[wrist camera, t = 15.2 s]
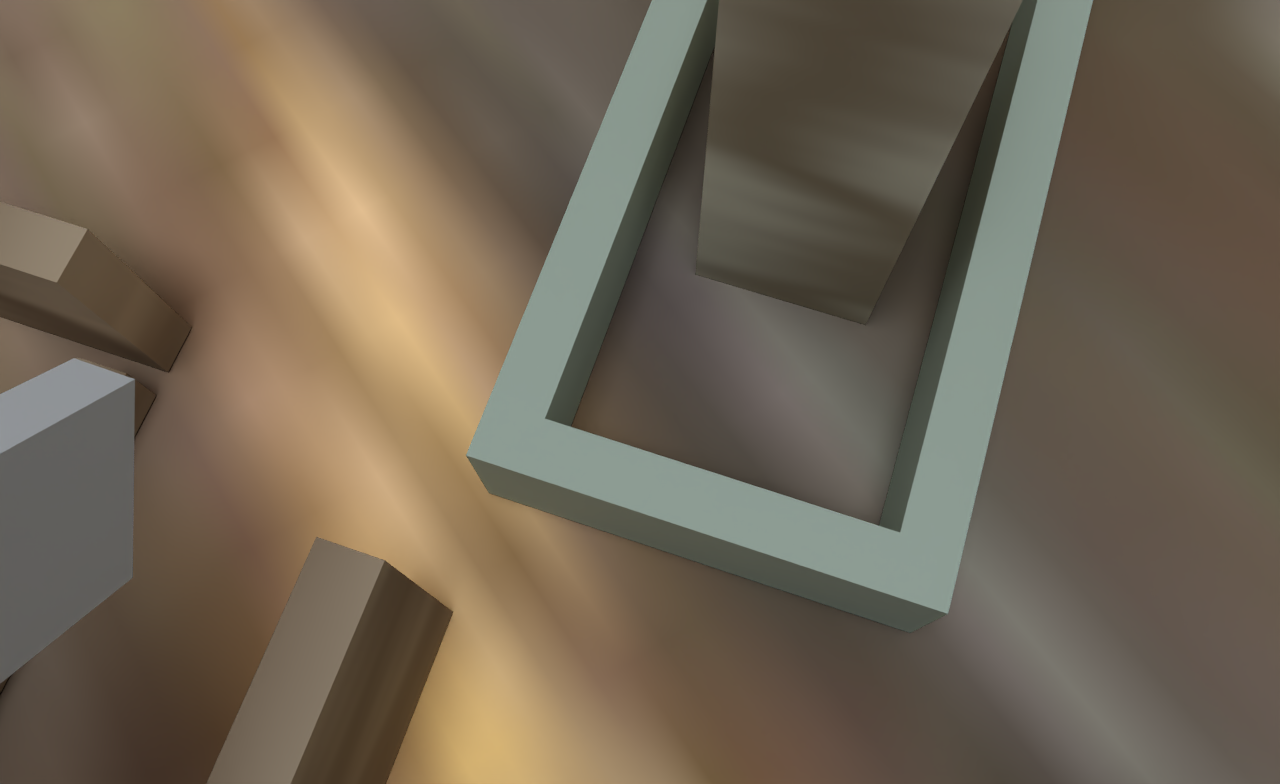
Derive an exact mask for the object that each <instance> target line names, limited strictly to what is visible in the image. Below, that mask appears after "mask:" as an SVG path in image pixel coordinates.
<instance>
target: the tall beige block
mask: <svg viewBox="0 0 1280 784" xmlns="http://www.w3.org/2000/svg"><path fill="white" fill-rule="evenodd" d="M1022 1H1023V0H719V6H718V18H717V29H716V41H715V53H714V64H713V76H712V88H711V99H710V111H709V123H708V134H707V146H706V158H705V169H704V181H703V193H702V204H701V216H700V228H699V239H698V251H697V263H696V275H699V276H702V277H706V278H709V279H713V280H716V281H719V282H723V283H726V284H729V285H733V286H736V287H739V288H743V289H746V290H750V291H753V292H756V293H760V294H763V295H766V296H770V297H773V298H776V299H780V300H783V301H786V302H790V303H793V304H797V305H800V306H803V307H807V308H810V309H813V310H817V311H820V312H823V313H827V314H830V315H834V316H837V317H840V318H844V319H847V320H850V321H854V322H857V323H860V324H864V325H866V323H867V321H868V319H869V317H870V315H871V313H872V311H873V309H874V307H875V305H876V302H877V300H878V298H879V296H880V294H881V292H882V290H883V288H884V286H885V284H886V282H887V280H888V278H889V276H890V274H891V272H892V269H893V267H894V265H895V263H896V261H897V259H898V257H899V255H900V253H901V251H902V249H903V247H904V245H905V243H906V241H907V238H908V236H909V234H910V232H911V230H912V228H913V226H914V224H915V222H916V220H917V218H918V216H919V214H920V212H921V210H922V207H923V205H924V203H925V201H926V199H927V197H928V195H929V193H930V191H931V189H932V187H933V185H934V183H935V181H936V179H937V176H938V174H939V172H940V170H941V168H942V166H943V164H944V162H945V160H946V158H947V156H948V154H949V152H950V150H951V148H952V145H953V143H954V141H955V139H956V137H957V135H958V133H959V131H960V129H961V127H962V125H963V123H964V121H965V119H966V117H967V114H968V112H969V110H970V108H971V106H972V104H973V102H974V100H975V98H976V96H977V94H978V92H979V90H980V88H981V86H982V83H983V81H984V79H985V77H986V75H987V73H988V71H989V69H990V67H991V65H992V63H993V61H994V59H995V57H996V55H997V52H998V50H999V48H1000V46H1001V44H1002V42H1003V40H1004V38H1005V36H1006V34H1007V32H1008V30H1009V28H1010V26H1011V24H1012V22H1013V19H1014V17H1015V15H1016V13H1017V11H1018V9H1019V7H1020V5H1021V3H1022Z"/></svg>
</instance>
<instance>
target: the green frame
mask: <svg viewBox="0 0 1280 784" xmlns="http://www.w3.org/2000/svg"><path fill="white" fill-rule="evenodd" d="M1092 2H1093V0H1023V1H1022V3H1021V5H1020V7H1019V9H1018V11H1017V13H1016V15H1015V17H1014V19H1013V22H1012V26H1011V30H1010V34H1009V37H1008V41H1007V45H1006V49H1005V52H1004V56H1003V60H1002V64H1001V68H1000V71H999V75H998V79H997V83H996V86H995V90H994V94H993V98H992V101H991V105H990V109H989V113H988V117H987V120H986V124H985V128H984V132H983V135H982V139H981V143H980V147H979V150H978V154H977V158H976V162H975V165H974V169H973V173H972V177H971V181H970V184H969V188H968V192H967V196H966V199H965V203H964V207H963V211H962V214H961V218H960V222H959V226H958V230H957V233H956V237H955V241H954V245H953V248H952V252H951V256H950V260H949V263H948V267H947V271H946V275H945V278H944V282H943V286H942V290H941V294H940V297H939V301H938V305H937V309H936V312H935V316H934V320H933V324H932V327H931V331H930V335H929V339H928V343H927V346H926V350H925V354H924V358H923V361H922V365H921V369H920V373H919V376H918V380H917V384H916V388H915V392H914V395H913V399H912V403H911V407H910V410H909V414H908V418H907V422H906V425H905V429H904V433H903V437H902V440H901V444H900V448H899V452H898V456H897V459H896V463H895V467H894V471H893V474H892V478H891V482H890V486H889V489H888V493H887V497H886V501H885V505H884V508H883V512H882V516H881V520H880V523H879V526H878V525H875V524H872V523H869V522H866V521H862V520H859V519H856V518H853V517H850V516H847V515H844V514H841V513H838V512H834V511H831V510H828V509H825V508H822V507H819V506H816V505H813V504H809V503H806V502H803V501H800V500H797V499H794V498H791V497H788V496H785V495H781V494H778V493H775V492H772V491H769V490H766V489H763V488H760V487H757V486H753V485H750V484H747V483H744V482H741V481H738V480H735V479H732V478H729V477H725V476H722V475H719V474H716V473H713V472H710V471H707V470H704V469H700V468H697V467H694V466H691V465H688V464H685V463H682V462H679V461H676V460H672V459H669V458H666V457H663V456H660V455H657V454H654V453H651V452H648V451H644V450H641V449H638V448H635V447H632V446H629V445H626V444H623V443H619V442H616V441H613V440H610V439H607V438H604V437H601V436H598V435H595V434H591V433H588V432H585V431H582V430H579V429H576V428H573V427H571V425H572V422H573V419H574V417H575V414H576V411H577V409H578V406H579V403H580V401H581V398H582V396H583V393H584V390H585V388H586V385H587V382H588V380H589V377H590V374H591V372H592V369H593V366H594V364H595V361H596V358H597V356H598V353H599V351H600V348H601V345H602V343H603V340H604V337H605V335H606V332H607V329H608V327H609V324H610V321H611V319H612V316H613V313H614V311H615V308H616V306H617V303H618V300H619V298H620V295H621V292H622V290H623V287H624V284H625V282H626V279H627V276H628V274H629V271H630V268H631V266H632V263H633V260H634V258H635V255H636V253H637V250H638V247H639V245H640V242H641V239H642V237H643V234H644V231H645V229H646V226H647V223H648V221H649V218H650V215H651V213H652V210H653V208H654V205H655V202H656V200H657V197H658V194H659V192H660V189H661V186H662V184H663V181H664V178H665V176H666V173H667V170H668V168H669V165H670V163H671V160H672V157H673V155H674V152H675V149H676V147H677V144H678V141H679V139H680V136H681V133H682V131H683V128H684V125H685V123H686V120H687V118H688V115H689V112H690V110H691V107H692V104H693V102H694V99H695V96H696V94H697V91H698V88H699V86H700V83H701V80H702V78H703V75H704V73H705V70H706V67H707V65H708V62H709V59H710V57H711V54H712V51H713V49H714V46H715V41H716V29H717V18H718V6H719V0H652V2H651V4H650V7H649V9H648V12H647V14H646V17H645V19H644V21H643V24H642V26H641V29H640V31H639V34H638V36H637V39H636V41H635V43H634V46H633V48H632V51H631V53H630V56H629V58H628V61H627V63H626V65H625V68H624V70H623V73H622V75H621V78H620V80H619V83H618V85H617V87H616V90H615V92H614V95H613V97H612V100H611V102H610V105H609V107H608V109H607V112H606V114H605V117H604V119H603V122H602V124H601V127H600V129H599V132H598V134H597V136H596V139H595V141H594V144H593V146H592V149H591V151H590V154H589V156H588V158H587V161H586V163H585V166H584V168H583V171H582V173H581V176H580V178H579V180H578V183H577V185H576V188H575V190H574V193H573V195H572V198H571V200H570V202H569V205H568V207H567V210H566V212H565V215H564V217H563V220H562V222H561V224H560V227H559V229H558V232H557V234H556V237H555V239H554V242H553V244H552V246H551V249H550V251H549V254H548V256H547V259H546V261H545V264H544V266H543V268H542V271H541V273H540V276H539V278H538V281H537V283H536V286H535V288H534V290H533V293H532V295H531V298H530V300H529V303H528V305H527V308H526V310H525V312H524V315H523V317H522V320H521V322H520V325H519V327H518V330H517V332H516V334H515V337H514V339H513V342H512V344H511V347H510V349H509V352H508V354H507V357H506V359H505V361H504V364H503V366H502V369H501V371H500V374H499V376H498V379H497V381H496V383H495V386H494V388H493V391H492V393H491V396H490V398H489V401H488V403H487V405H486V408H485V410H484V413H483V415H482V418H481V420H480V423H479V425H478V427H477V430H476V432H475V435H474V437H473V440H472V442H471V445H470V447H469V449H468V452H467V454H466V456H467V458H468V459H469V461H470V463H471V464H472V466H473V468H474V469H475V471H476V472H477V474H478V476H479V477H480V479H481V481H482V482H483V484H484V486H485V487H486V489H487V491H488V492H489V493H491V494H494V495H497V496H500V497H503V498H506V499H509V500H512V501H515V502H518V503H521V504H524V505H527V506H530V507H533V508H536V509H539V510H542V511H545V512H548V513H551V514H554V515H557V516H560V517H563V518H566V519H569V520H572V521H575V522H578V523H581V524H584V525H587V526H590V527H593V528H596V529H599V530H602V531H605V532H608V533H611V534H614V535H617V536H620V537H623V538H626V539H629V540H632V541H635V542H638V543H641V544H644V545H647V546H650V547H653V548H656V549H659V550H662V551H665V552H668V553H671V554H674V555H677V556H680V557H683V558H686V559H689V560H692V561H695V562H698V563H701V564H704V565H707V566H710V567H713V568H716V569H719V570H722V571H725V572H728V573H731V574H734V575H737V576H740V577H743V578H746V579H749V580H752V581H755V582H758V583H761V584H764V585H767V586H770V587H773V588H776V589H779V590H782V591H785V592H788V593H791V594H794V595H797V596H800V597H803V598H806V599H809V600H812V601H815V602H818V603H821V604H824V605H827V606H830V607H833V608H836V609H839V610H842V611H845V612H848V613H851V614H854V615H857V616H861V617H864V618H867V619H870V620H873V621H876V622H879V623H882V624H885V625H888V626H891V627H894V628H897V629H900V630H903V631H906V632H909V633H911V632H913V631H915V630H917V629H919V628H921V627H923V626H925V625H927V624H929V623H931V622H933V621H935V620H937V619H939V618H941V617H943V616H945V615H947V614H948V612H949V607H950V603H951V599H952V595H953V591H954V586H955V582H956V578H957V574H958V569H959V565H960V561H961V557H962V552H963V548H964V544H965V540H966V535H967V531H968V527H969V523H970V519H971V514H972V510H973V506H974V502H975V497H976V493H977V489H978V485H979V480H980V476H981V472H982V468H983V464H984V459H985V455H986V451H987V447H988V442H989V438H990V434H991V430H992V425H993V421H994V417H995V413H996V408H997V404H998V400H999V396H1000V392H1001V387H1002V383H1003V379H1004V375H1005V370H1006V366H1007V362H1008V358H1009V353H1010V349H1011V345H1012V341H1013V337H1014V332H1015V328H1016V324H1017V320H1018V315H1019V311H1020V307H1021V303H1022V298H1023V294H1024V290H1025V286H1026V281H1027V277H1028V273H1029V269H1030V265H1031V260H1032V256H1033V252H1034V248H1035V243H1036V239H1037V235H1038V231H1039V226H1040V222H1041V218H1042V214H1043V210H1044V205H1045V201H1046V197H1047V193H1048V188H1049V184H1050V180H1051V176H1052V171H1053V167H1054V163H1055V159H1056V154H1057V150H1058V146H1059V142H1060V138H1061V133H1062V129H1063V125H1064V121H1065V116H1066V112H1067V108H1068V104H1069V99H1070V95H1071V91H1072V87H1073V83H1074V78H1075V74H1076V70H1077V66H1078V61H1079V57H1080V53H1081V49H1082V44H1083V40H1084V36H1085V32H1086V27H1087V23H1088V19H1089V15H1090V11H1091V6H1092Z"/></svg>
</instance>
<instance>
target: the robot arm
mask: <svg viewBox="0 0 1280 784" xmlns="http://www.w3.org/2000/svg"><path fill="white" fill-rule="evenodd" d="M134 418H135V379H133V378H130V377H127V376H124V375H121V374H118V373H115V372H113V371H110V370H107V369H104V368H101V367H98V366H95V365H92V364H90V363H87V362H84V361H81V360H78V359H75V358H73V359H71V360H69V361H67V362H65V363H63V364H61V365H59V366H57V367H55V368H53V369H51V370H49V371H47V372H45V373H43V374H41V375H39V376H37V377H35V378H32V379H30V380H28V381H26V382H24V383H22V384H20V385H18V386H16V387H14V388H12V389H10V390H8V391H6V392H4V393H2V394H0V683H2V682H3V681H4V680H5V679H7V678H8V677H9V676H10V675H12V674H13V673H14V672H15V671H17V670H18V669H19V668H20V667H22V666H23V665H24V664H25V663H27V662H28V661H29V660H30V659H32V658H33V657H34V656H35V655H37V654H38V653H39V652H40V651H42V650H43V649H44V648H45V647H47V646H48V645H49V644H50V643H52V642H53V641H54V640H55V639H57V638H58V637H59V636H60V635H62V634H63V633H64V632H65V631H67V630H68V629H69V628H70V627H72V626H73V625H74V624H75V623H77V622H78V621H79V620H80V619H82V618H83V617H84V616H85V615H87V614H88V613H89V612H90V611H92V610H93V609H94V608H95V607H97V606H98V605H99V604H100V603H102V602H103V601H104V600H105V599H107V598H108V597H109V596H110V595H112V594H113V593H114V592H115V591H117V590H118V589H119V588H120V587H122V586H123V585H124V584H125V583H127V582H128V581H129V580H130V579H132V578H133V507H134Z"/></svg>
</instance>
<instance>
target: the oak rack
mask: <svg viewBox="0 0 1280 784" xmlns="http://www.w3.org/2000/svg"><path fill="white" fill-rule="evenodd" d="M0 317H3V318H6V319H9V320H12V321H15V322H18V323H21V324H24V325H27V326H30V327H33V328H36V329H39V330H42V331H45V332H48V333H51V334H54V335H57V336H60V337H63V338H66V339H69V340H72V341H75V342H78V343H81V344H84V345H87V346H90V347H93V348H96V349H99V350H102V351H105V352H108V353H111V354H114V355H117V356H120V357H123V358H127V359H130V360H133V361H136V362H139V363H142V364H145V365H148V366H151V367H154V368H157V369H160V370H163V371H166V372H168V371H169V370H170V368H171V366H172V364H173V362H174V360H175V358H176V356H177V354H178V352H179V350H180V348H181V347H182V345H183V343H184V341H185V339H186V337H187V335H188V333H189V331H190V329H191V326H190V325H189V324H188V323H186V322H185V321H184V320H183V319H182V318H181V317H180V316H179V315H178V314H177V313H176V312H175V311H174V310H173V309H172V308H171V307H170V306H168V305H167V304H166V303H165V302H164V301H163V300H162V299H161V298H160V297H159V296H158V295H157V294H156V293H155V292H154V291H153V290H152V289H150V288H149V287H148V286H147V285H146V284H145V283H144V282H143V281H142V280H141V279H140V278H139V277H138V276H137V275H136V274H135V273H133V272H132V271H131V270H130V269H129V268H128V267H127V266H126V265H125V264H124V263H123V262H122V261H121V260H120V259H119V258H118V257H117V256H115V255H114V254H113V253H112V252H111V251H110V250H109V249H108V248H107V247H106V246H105V245H104V244H103V243H102V242H101V241H100V240H99V239H97V238H96V237H95V236H94V235H93V234H92V233H91V232H90V231H89V230H88V229H86V228H82V227H79V226H76V225H73V224H70V223H66V222H63V221H60V220H57V219H54V218H51V217H47V216H44V215H41V214H38V213H35V212H32V211H28V210H25V209H22V208H19V207H16V206H13V205H9V204H6V203H3V202H0ZM77 359H78V360H81V361H84V362H87V363H90V364H92V365H95V366H98V367H101V368H104V369H107V370H110V371H113V372H115V373H118V374H121V375H124V376H127V377H130V378H132V377H131V376H129V375H128V374H127V373H124V372H121V371H118V370H115V369H112V368H109V367H106V366H103V365H100V364H97V363H94V362H91V361H88V360H85V359H82V358H79V357H78V358H77ZM155 396H156V395H155V394H154V393H152V392H151V391H150V390H148V389H147V388H146V387H144V386H143V385H142V384H140V383H139V382H137V381H136V380H135V418H134V437H135V435H136V433H137V431H138V429H139V427H140V425H141V423H142V421H143V419H144V417H145V415H146V414H147V412H148V410H149V408H150V406H151V404H152V402H153V400H154V398H155ZM452 613H453V612H452V611H451V610H450V609H448V608H447V607H446V606H444V605H443V604H442V603H440V602H439V601H438V600H436V599H435V598H434V597H432V596H431V595H430V594H428V593H427V592H426V591H424V590H423V589H422V588H421V587H419V586H418V585H417V584H415V583H414V582H413V581H411V580H410V579H409V578H407V577H406V576H405V575H403V574H402V573H401V572H399V571H398V570H397V569H395V568H394V567H393V566H391V565H390V564H389V563H387V562H386V561H385V560H382V559H379V558H376V557H373V556H370V555H367V554H364V553H362V552H359V551H356V550H353V549H350V548H347V547H344V546H341V545H338V544H336V543H333V542H330V541H327V540H324V539H321V538H318V537H316V539H315V541H314V544H313V546H312V548H311V550H310V553H309V555H308V557H307V559H306V562H305V564H304V566H303V568H302V571H301V573H300V575H299V577H298V580H297V582H296V584H295V586H294V588H293V591H292V593H291V595H290V597H289V600H288V602H287V604H286V606H285V609H284V611H283V613H282V615H281V618H280V620H279V622H278V624H277V627H276V629H275V631H274V633H273V636H272V638H271V640H270V642H269V644H268V647H267V649H266V651H265V653H264V656H263V658H262V660H261V662H260V665H259V667H258V669H257V671H256V674H255V676H254V678H253V680H252V683H251V685H250V687H249V689H248V691H247V694H246V696H245V698H244V700H243V703H242V705H241V707H240V709H239V712H238V714H237V716H236V718H235V721H234V723H233V725H232V727H231V730H230V732H229V734H228V736H227V739H226V741H225V743H224V745H223V747H222V750H221V752H220V754H219V756H218V759H217V761H216V763H215V765H214V768H213V770H212V772H211V774H210V777H209V779H208V781H207V783H206V784H386V781H387V779H388V776H389V774H390V771H391V769H392V766H393V763H394V761H395V758H396V756H397V753H398V751H399V748H400V746H401V743H402V741H403V738H404V735H405V733H406V730H407V728H408V725H409V723H410V720H411V718H412V715H413V713H414V710H415V707H416V705H417V702H418V700H419V697H420V695H421V692H422V690H423V687H424V684H425V682H426V679H427V677H428V674H429V672H430V669H431V667H432V664H433V662H434V659H435V656H436V654H437V651H438V649H439V646H440V644H441V641H442V639H443V636H444V634H445V631H446V628H447V626H448V623H449V621H450V618H451V616H452ZM8 678H9V677H8ZM8 678H7V679H5V680H4V681H3V682H2V683H0V693H1V691H2V689H3V687H4V685H5V683H6V682H7V680H8Z"/></svg>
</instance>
